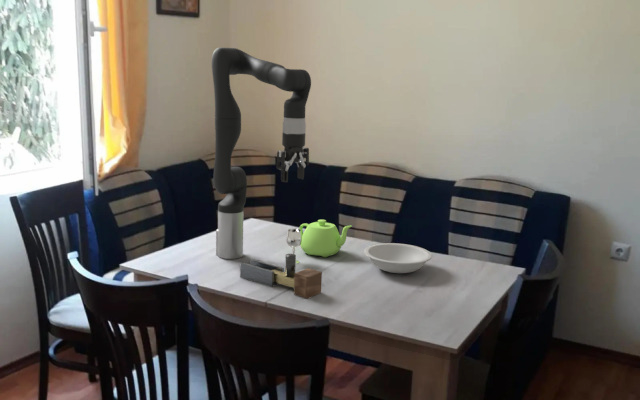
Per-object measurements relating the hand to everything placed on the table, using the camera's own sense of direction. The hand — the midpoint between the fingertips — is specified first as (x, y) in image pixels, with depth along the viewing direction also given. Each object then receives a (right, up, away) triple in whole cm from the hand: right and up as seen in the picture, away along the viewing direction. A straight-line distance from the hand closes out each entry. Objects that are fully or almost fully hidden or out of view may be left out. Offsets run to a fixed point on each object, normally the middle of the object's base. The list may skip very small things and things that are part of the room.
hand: (292, 180), depth 212 cm
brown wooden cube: (+5, -36, -9) cm, 38 cm away
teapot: (+10, -27, +33) cm, 44 cm away
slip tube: (-1, -34, -6) cm, 34 cm away
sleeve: (-10, -33, +1) cm, 35 cm away
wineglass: (-1, -29, +21) cm, 36 cm away
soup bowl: (+37, -32, +17) cm, 51 cm away
